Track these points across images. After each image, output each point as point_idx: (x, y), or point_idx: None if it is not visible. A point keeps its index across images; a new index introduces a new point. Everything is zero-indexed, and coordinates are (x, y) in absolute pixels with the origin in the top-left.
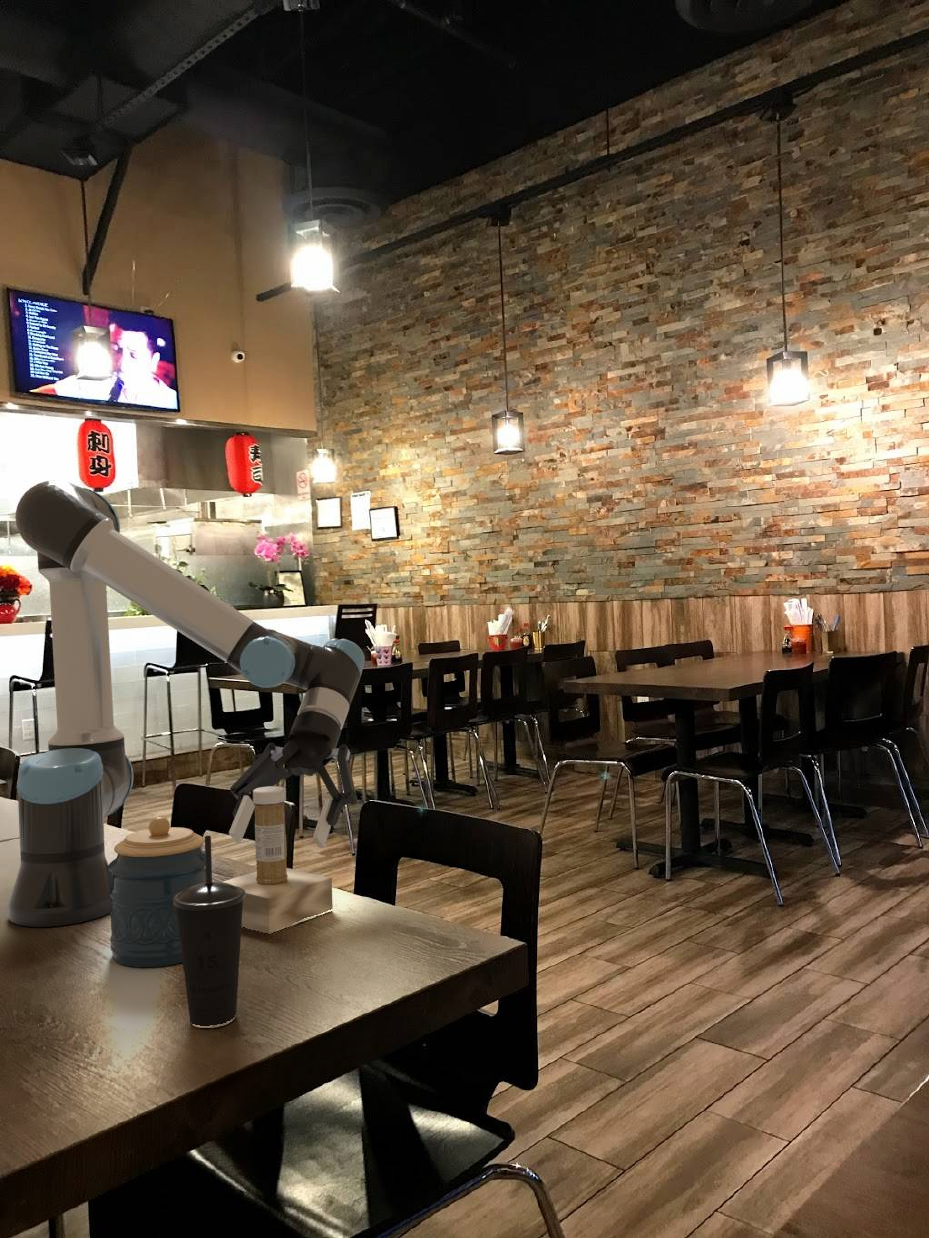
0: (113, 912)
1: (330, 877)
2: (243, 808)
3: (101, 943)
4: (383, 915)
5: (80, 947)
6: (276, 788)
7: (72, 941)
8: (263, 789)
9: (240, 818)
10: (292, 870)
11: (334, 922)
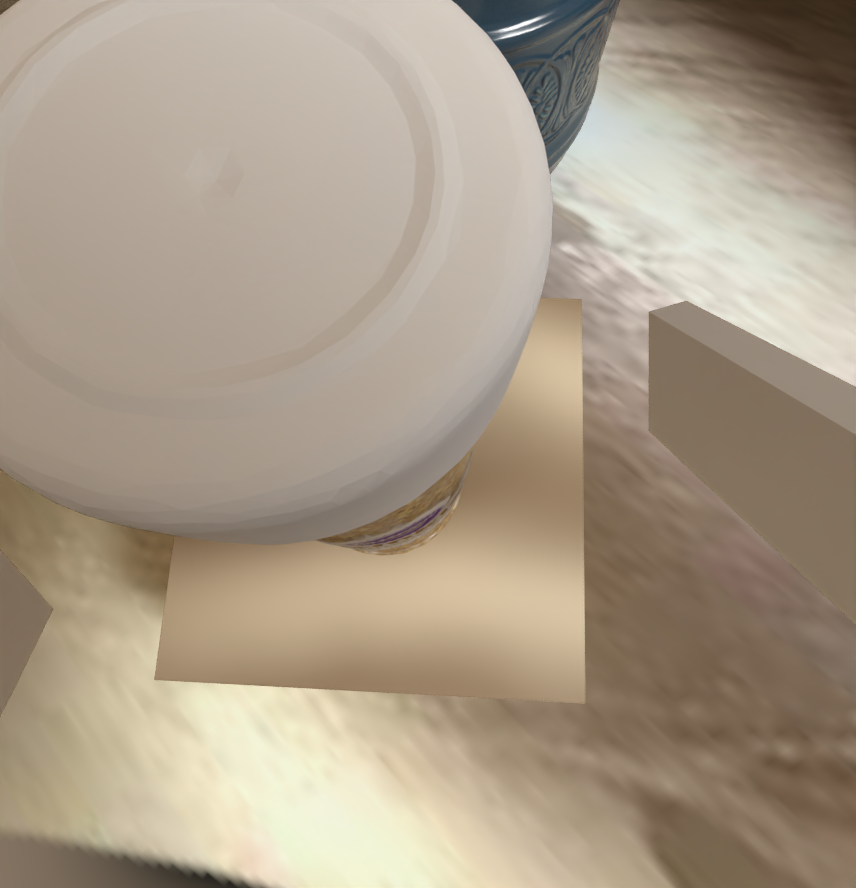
0: None
1: (159, 676)
2: (829, 424)
3: (652, 53)
4: (10, 724)
5: (671, 9)
6: (46, 254)
7: (740, 23)
8: (260, 70)
9: (745, 390)
10: (433, 676)
11: (138, 556)
